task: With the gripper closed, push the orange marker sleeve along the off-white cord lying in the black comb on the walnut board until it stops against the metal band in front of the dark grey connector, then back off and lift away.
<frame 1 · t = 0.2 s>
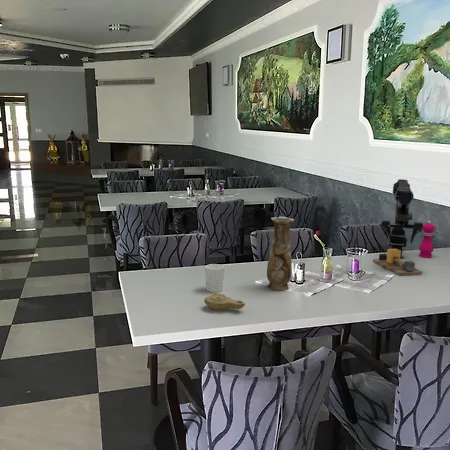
hand: (400, 243, 230), 14 cm above the table, tool tilted 30°, fingers open, 9 cm apart
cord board: (396, 268, 240), on the table
oil lamp: (223, 309, 181), on the table
sleeve: (393, 256, 242), point 5 cm above the table, slide at 0.0 cm
pepper mill: (425, 256, 264), on the table
white cup: (214, 290, 202), on the table
vase: (278, 287, 207), on the table
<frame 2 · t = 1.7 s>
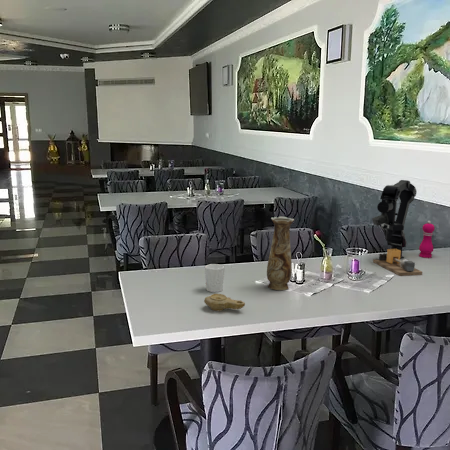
hand: (387, 240, 248), 12 cm above the table, tool pointing down, fingers closed
nothing on the table moved.
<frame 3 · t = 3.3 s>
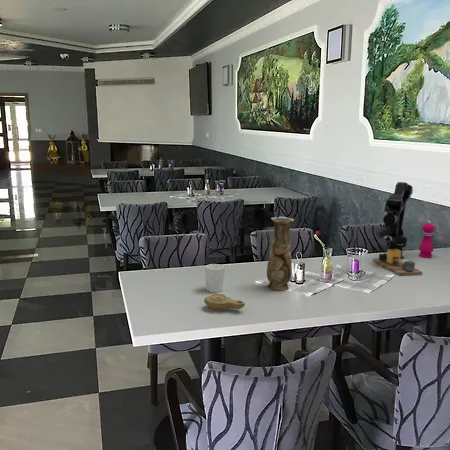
hand: (389, 252, 245), 6 cm above the table, tool pointing down, fingers closed
sleeve: (393, 256, 242), point 5 cm above the table, slide at 0.2 cm, touching gripper
everything else where it was.
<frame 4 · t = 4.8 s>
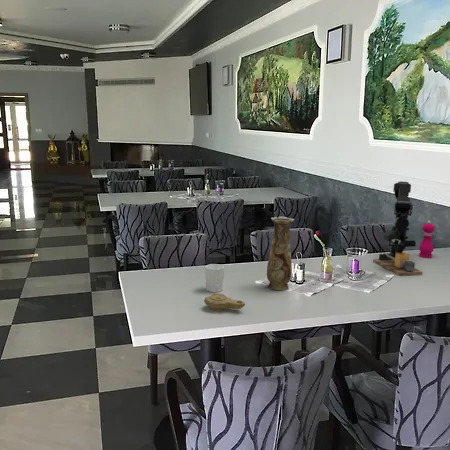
hand: (397, 256, 238), 6 cm above the table, tool pointing down, fingers closed
sleeve: (402, 260, 235), point 5 cm above the table, slide at 7.3 cm, touching gripper
everything else where it was.
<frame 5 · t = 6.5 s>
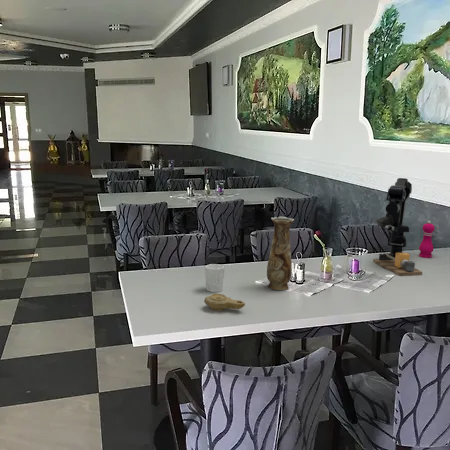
hand: (391, 242, 242), 12 cm above the table, tool pointing down, fingers closed
sleeve: (402, 260, 235), point 5 cm above the table, slide at 7.4 cm
everything else where it was.
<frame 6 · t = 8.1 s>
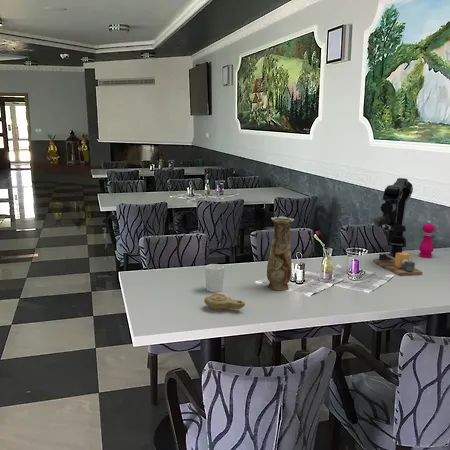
hand: (388, 242, 243), 12 cm above the table, tool pointing down, fingers closed
nothing on the table moved.
at the end: sleeve slide at 7.4 cm; pepper mill moved 0.2 cm from its start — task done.
